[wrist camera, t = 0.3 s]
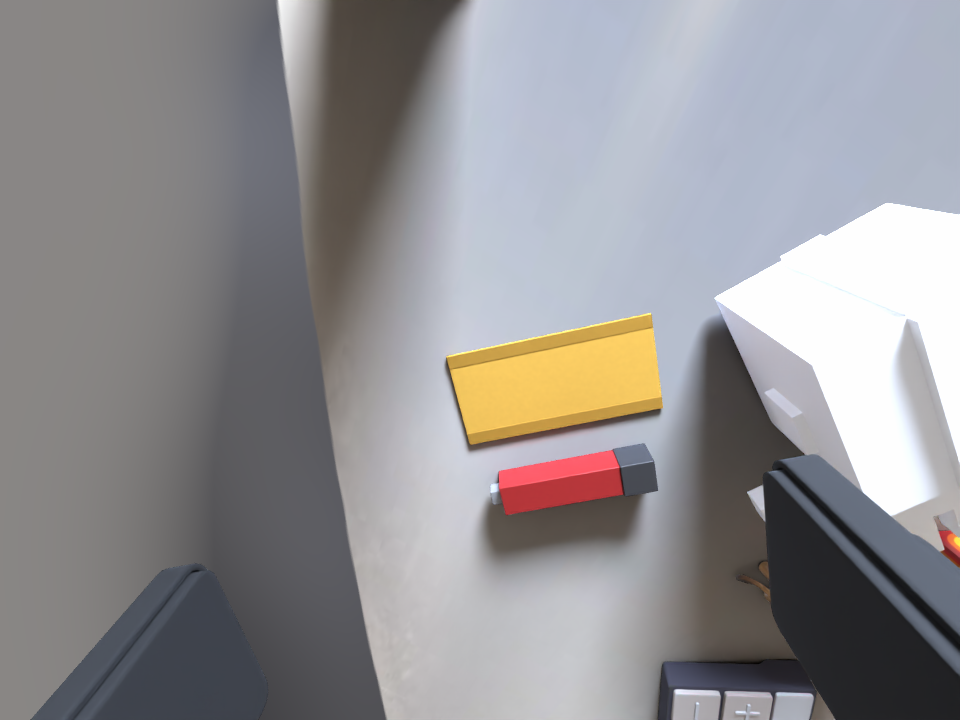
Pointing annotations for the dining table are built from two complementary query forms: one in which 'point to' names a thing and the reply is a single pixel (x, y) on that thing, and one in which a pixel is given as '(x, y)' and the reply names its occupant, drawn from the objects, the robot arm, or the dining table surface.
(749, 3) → the dining table surface
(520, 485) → the marker
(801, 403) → the blocky voxel creature
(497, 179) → the dining table surface
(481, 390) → the mustard cloth
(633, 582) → the dining table surface
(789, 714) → the calculator
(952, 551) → the baking soda box
